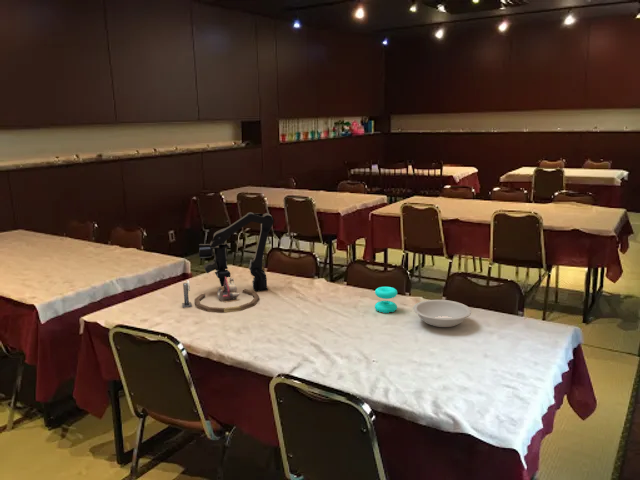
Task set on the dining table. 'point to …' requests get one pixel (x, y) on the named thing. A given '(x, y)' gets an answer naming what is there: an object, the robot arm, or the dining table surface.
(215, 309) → the bent brown bar
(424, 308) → the soup bowl
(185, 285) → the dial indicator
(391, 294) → the donuts
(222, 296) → the brake caliper
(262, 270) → the robot arm
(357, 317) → the dining table surface
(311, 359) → the dining table surface
